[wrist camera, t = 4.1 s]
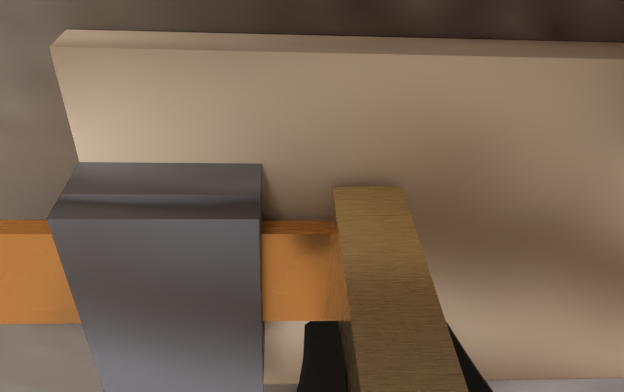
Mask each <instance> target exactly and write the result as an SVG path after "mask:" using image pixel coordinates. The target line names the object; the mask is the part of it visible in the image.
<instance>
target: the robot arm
mask: <svg viewBox="0 0 624 392" xmlns="http://www.w3.org/2000/svg"><path fill="white" fill-rule="evenodd" d="M446 323H447V322H446ZM447 327H448V330H449V333H450V336H451V339H452V342H453V345H454V348H455V351H456V354H457V357H458V360H459V363H460V367H461V370H462V373H463V376H464V379H465V382H466V385H467V388H468V391H469V392H493V391H492V390H491V388H490V387H489V385H488V384H487V382H486V381H485V380H484V378H483V377H482V375H481V374H480V372H479V371H478V369H477V368H476V366H475V365H474V363H473V362H472V360H471V359H470V357H469V356H468V354H467V353H466V351H465V350H464V348H463V347H462V345H461V344H460V342H459V341H458V339H457V337H456V336H455V334H454V333H453V331H452V329H451V328H450V326H449V325H448V323H447ZM297 392H346V366H345V358H344V352H343V346H342V340H341V334H340V329H339V323H338V321H310V322H308V323H307V324H305V328H304V350H303V362H302V368H301V373H300V379H299V384H298V388H297Z"/></svg>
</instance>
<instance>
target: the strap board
mask: <svg viewBox="0 0 624 392" xmlns="http://www.w3.org/2000/svg"><path fill="white" fill-rule="evenodd" d="M49 49H50V53H51V56H52V60H53V64H54V68H55V71H56V75H57V79H58V83H59V86H60V90H61V94H62V98H63V102H64V105H65V109H66V113H67V117H68V120H69V124H70V128H71V132H72V136H73V139H74V143H75V147H76V151H77V154H78V158H79V164H78V166H77V167H76V169H75V171H74V172H73V174H72V176H71V178H70V179H69V181H68V183H67V185H66V186H65V188H64V190H63V191H62V193H61V195H60V197H59V198H58V200H57V202H56V204H55V205H54V207H53V209H52V210H51V212H50V214H49V216H48V217H47V222H48V225H49V228H50V231H51V234H52V237H53V240H54V243H55V246H56V249H57V252H58V255H59V258H60V261H61V264H62V267H63V270H64V273H65V276H66V279H67V282H68V285H69V288H70V291H71V294H72V297H73V300H74V303H75V305H76V308H77V311H78V314H79V317H80V320H81V323H82V326H83V329H84V332H85V335H86V338H87V341H88V344H89V347H90V350H91V353H92V356H93V359H94V362H95V365H96V368H97V371H98V374H99V377H100V380H101V383H102V386H103V389H104V392H263V384H299V379H300V373H301V368H302V362H303V350H304V328H305V324H307V323H308V322H310V321H263V302H262V258H261V220H330V211H331V199H332V186H391V187H402V188H403V191H404V194H405V197H406V200H407V203H408V206H409V210H410V213H411V216H412V219H413V222H414V225H415V228H416V231H417V234H418V237H419V240H420V243H421V246H422V250H423V253H424V256H425V259H426V262H427V265H428V268H429V271H430V274H431V277H432V280H433V283H434V287H435V290H436V293H437V296H438V299H439V302H440V305H441V308H442V311H443V314H444V317H445V320H446V322H447V323H448V325H449V326H450V328H451V329H452V331H453V333H454V334H455V336H456V337H457V339H458V341H459V342H460V344H461V345H462V347H463V348H464V350H465V351H466V353H467V354H468V356H469V357H470V359H471V360H472V362H473V363H474V365H475V366H476V368H477V369H478V371H479V372H480V374H481V375H482V377H483V378H484V380H533V379H588V378H624V43H614V42H572V41H530V40H488V39H446V38H404V37H362V36H320V35H278V34H235V33H193V32H151V31H109V30H67V29H66V30H65V31H64V32H63V33H62V34H61V35H60V36H59V37H58V38H57V39H56V40H55V41H54V42H53V43H52V44H51V45H50V46H49Z"/></svg>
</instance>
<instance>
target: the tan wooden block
mask: <svg viewBox="0 0 624 392" xmlns="http://www.w3.org/2000/svg"><path fill="white" fill-rule="evenodd" d="M261 258H262V302H263V321H338V323H339V329H340V334H341V340H342V346H343V352H344V358H345V366H346V392H469V391H468V388H467V385H466V382H465V379H464V376H463V373H462V370H461V367H460V363H459V360H458V357H457V354H456V351H455V348H454V345H453V342H452V339H451V336H450V333H449V330H448V327H447V323H446V320H445V317H444V314H443V311H442V308H441V305H440V302H439V299H438V296H437V293H436V290H435V287H434V283H433V280H432V277H431V274H430V271H429V268H428V265H427V262H426V259H425V256H424V253H423V250H422V246H421V243H420V240H419V237H418V234H417V231H416V228H415V225H414V222H413V219H412V216H411V213H410V210H409V206H408V203H407V200H406V197H405V194H404V191H403V188H402V187H391V186H332V199H331V211H330V220H261ZM46 323H81V320H80V317H79V314H78V311H77V308H76V305H75V303H74V300H73V297H72V294H71V291H70V288H69V285H68V282H67V279H66V276H65V273H64V270H63V267H62V264H61V261H60V258H59V255H58V252H57V249H56V246H55V243H54V240H53V237H52V234H51V231H50V228H49V225H48V222H47V220H0V324H46Z"/></svg>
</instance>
